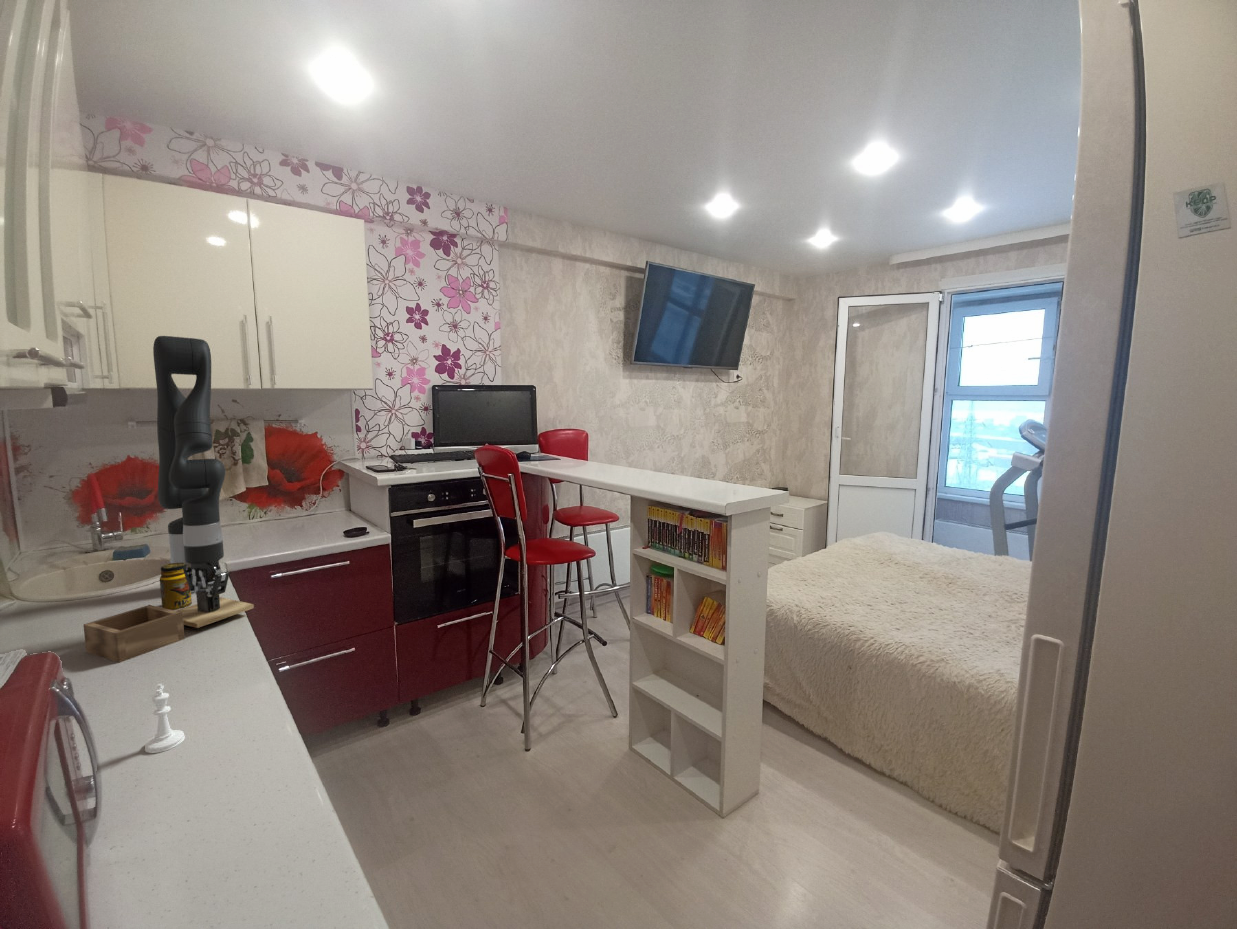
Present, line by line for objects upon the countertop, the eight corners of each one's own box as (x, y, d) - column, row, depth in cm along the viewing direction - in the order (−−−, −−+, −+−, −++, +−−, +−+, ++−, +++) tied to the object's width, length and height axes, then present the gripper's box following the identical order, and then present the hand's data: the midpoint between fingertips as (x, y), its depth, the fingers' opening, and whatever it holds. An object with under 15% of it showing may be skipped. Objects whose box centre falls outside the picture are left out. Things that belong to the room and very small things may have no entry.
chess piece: (139, 756, 82) (132, 695, 81) (152, 738, 87) (146, 680, 86) (178, 748, 84) (173, 689, 83) (189, 730, 89) (184, 674, 87)
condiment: (192, 610, 139) (188, 566, 138) (149, 617, 134) (145, 571, 133) (195, 601, 145) (191, 559, 144) (154, 608, 140) (150, 564, 139)
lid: (162, 622, 128) (160, 595, 127) (219, 603, 140) (217, 578, 139) (197, 631, 123) (195, 603, 122) (253, 611, 135) (252, 585, 134)
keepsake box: (86, 655, 114) (83, 624, 113) (152, 633, 125) (149, 604, 124) (120, 666, 110) (116, 633, 109) (184, 642, 121) (182, 612, 120)
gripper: (238, 540, 130) (243, 608, 132) (201, 534, 135) (206, 599, 137) (205, 548, 123) (211, 619, 125) (167, 541, 128) (173, 610, 130)
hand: (208, 608), depth 131 cm, fingers closed on lid, 3 cm apart
